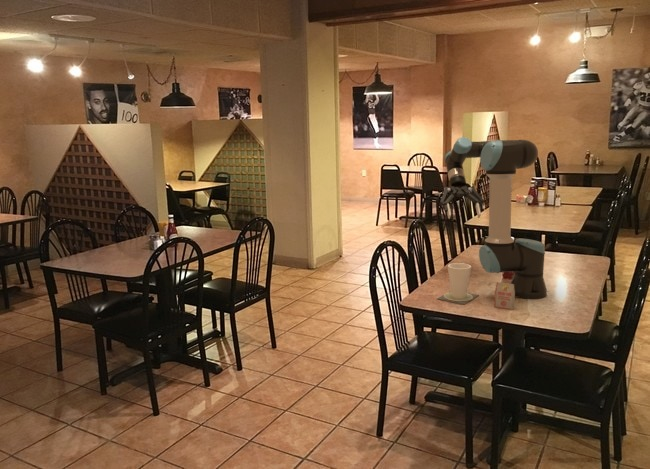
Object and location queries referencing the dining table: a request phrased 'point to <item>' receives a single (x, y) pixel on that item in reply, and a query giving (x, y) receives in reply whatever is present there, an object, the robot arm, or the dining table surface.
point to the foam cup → (459, 279)
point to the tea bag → (504, 296)
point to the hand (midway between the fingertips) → (464, 216)
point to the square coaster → (461, 301)
